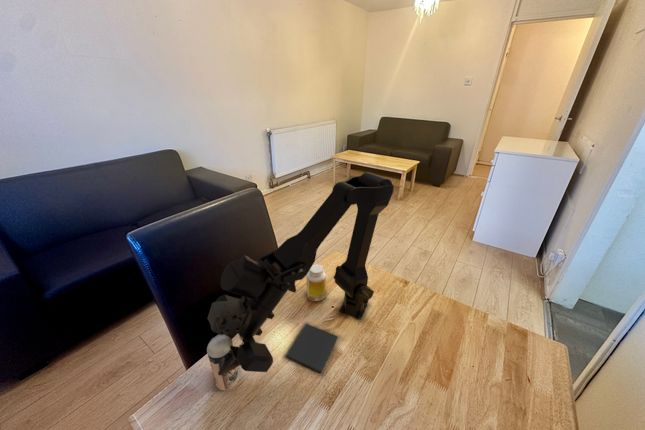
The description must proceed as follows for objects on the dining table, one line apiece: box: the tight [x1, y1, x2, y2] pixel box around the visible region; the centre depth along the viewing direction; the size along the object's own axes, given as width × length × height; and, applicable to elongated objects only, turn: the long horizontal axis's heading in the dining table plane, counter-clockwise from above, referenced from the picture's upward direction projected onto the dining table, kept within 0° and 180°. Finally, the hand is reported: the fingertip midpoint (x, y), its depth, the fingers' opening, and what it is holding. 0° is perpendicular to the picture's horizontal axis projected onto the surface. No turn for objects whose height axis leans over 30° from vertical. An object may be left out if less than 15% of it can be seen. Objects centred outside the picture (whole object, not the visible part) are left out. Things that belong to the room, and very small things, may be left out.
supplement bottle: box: [306, 263, 327, 302], centre depth 77 cm, size 6×6×10 cm
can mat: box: [285, 323, 339, 374], centre depth 63 cm, size 10×9×1 cm
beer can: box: [206, 334, 240, 391], centre depth 53 cm, size 5×5×12 cm
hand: (216, 364), depth 53 cm, fingers closed on beer can, 5 cm apart
